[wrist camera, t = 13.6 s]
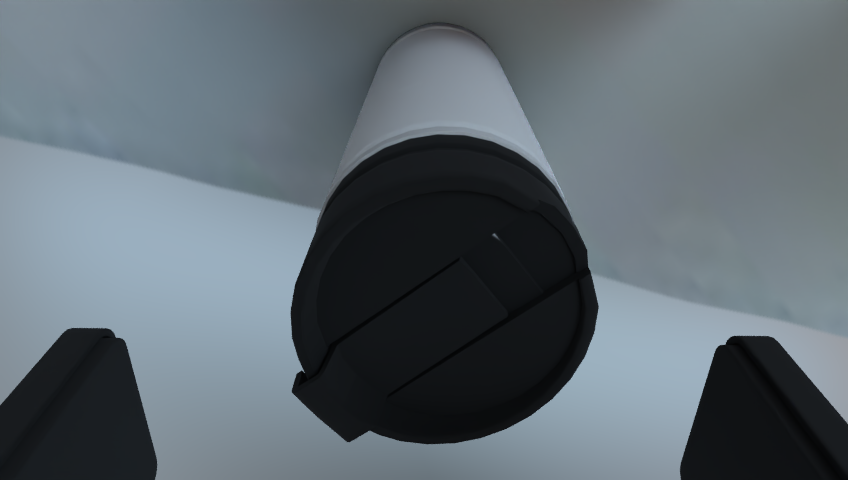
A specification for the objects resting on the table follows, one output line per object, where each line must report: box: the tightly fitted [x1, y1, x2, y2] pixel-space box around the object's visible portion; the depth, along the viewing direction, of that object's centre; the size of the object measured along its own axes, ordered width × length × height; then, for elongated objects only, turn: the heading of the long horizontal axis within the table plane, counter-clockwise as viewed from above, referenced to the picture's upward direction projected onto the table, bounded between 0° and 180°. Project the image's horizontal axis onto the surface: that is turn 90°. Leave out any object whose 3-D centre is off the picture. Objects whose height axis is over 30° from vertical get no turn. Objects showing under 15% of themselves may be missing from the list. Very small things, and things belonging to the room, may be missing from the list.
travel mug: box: [291, 23, 598, 444], centre depth 20 cm, size 6×7×20 cm
